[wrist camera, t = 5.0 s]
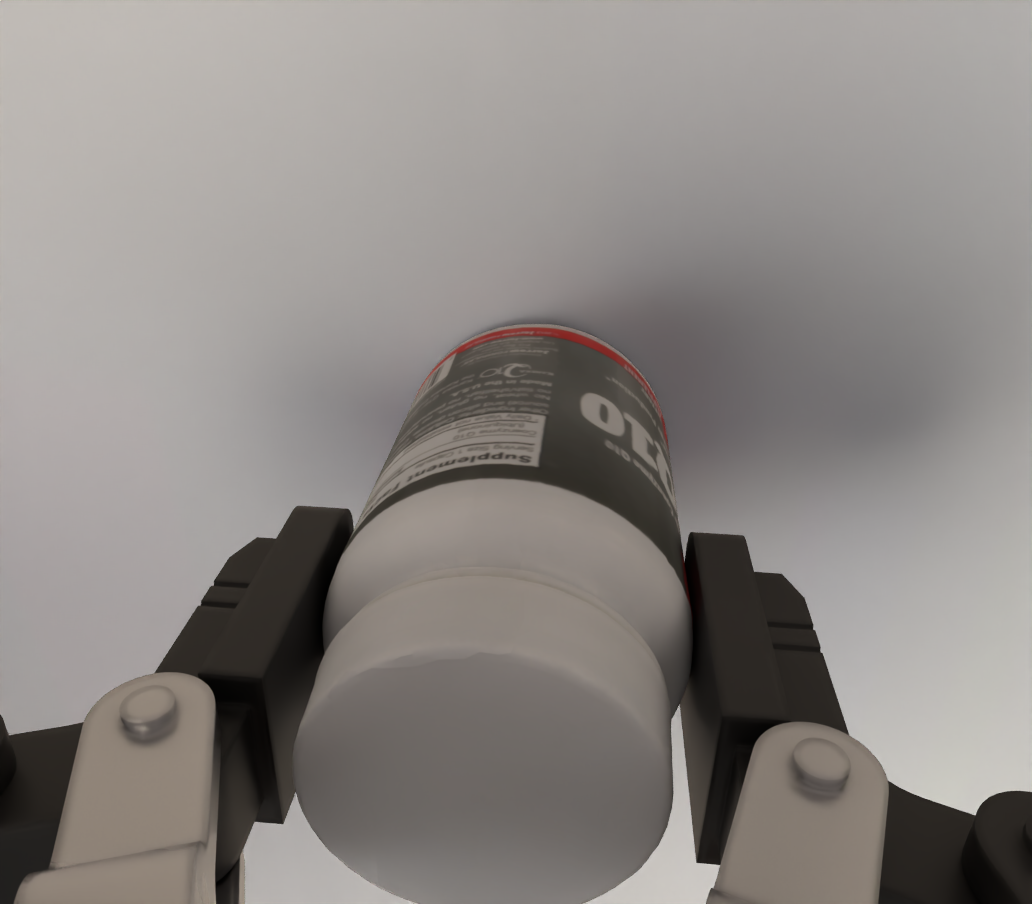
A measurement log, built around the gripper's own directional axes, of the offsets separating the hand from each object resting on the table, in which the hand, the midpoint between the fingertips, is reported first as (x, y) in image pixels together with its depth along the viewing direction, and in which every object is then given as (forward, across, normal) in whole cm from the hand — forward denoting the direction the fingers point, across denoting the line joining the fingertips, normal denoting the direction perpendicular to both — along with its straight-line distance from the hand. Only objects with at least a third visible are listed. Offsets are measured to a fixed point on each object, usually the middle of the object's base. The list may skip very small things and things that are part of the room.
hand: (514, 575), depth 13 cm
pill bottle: (+5, 0, 0) cm, 5 cm away
